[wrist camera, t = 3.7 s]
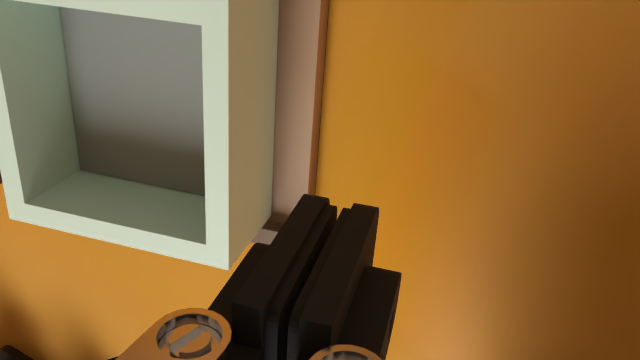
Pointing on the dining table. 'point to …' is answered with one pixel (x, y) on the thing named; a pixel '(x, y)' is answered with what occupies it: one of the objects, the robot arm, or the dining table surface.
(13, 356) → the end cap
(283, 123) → the rail board
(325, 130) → the dining table surface
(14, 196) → the socket block
